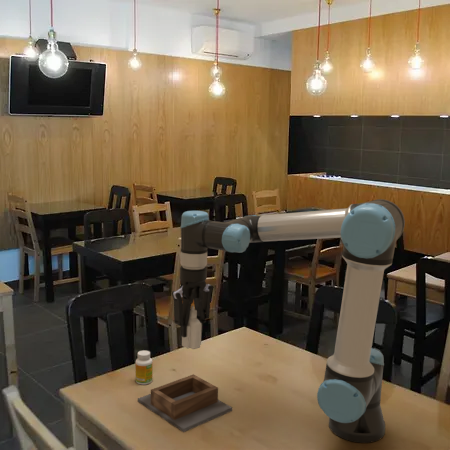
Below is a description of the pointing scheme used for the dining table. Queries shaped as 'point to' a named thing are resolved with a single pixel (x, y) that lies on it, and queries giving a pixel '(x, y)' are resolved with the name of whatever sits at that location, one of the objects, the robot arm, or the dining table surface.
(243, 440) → the dining table surface
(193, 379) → the bottle holder
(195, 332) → the eye dropper bottle
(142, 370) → the supplement bottle
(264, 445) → the dining table surface
